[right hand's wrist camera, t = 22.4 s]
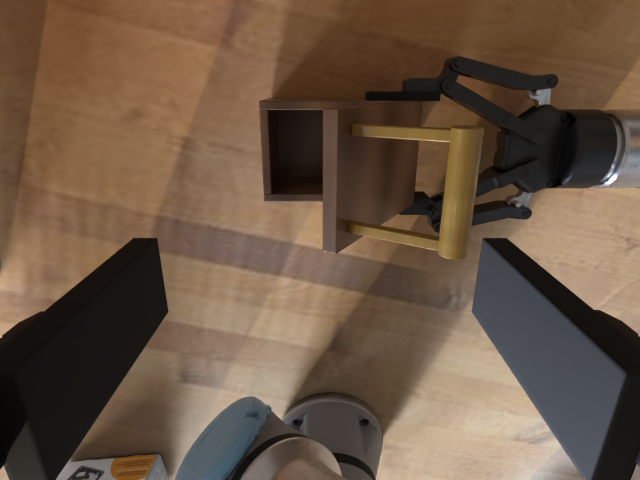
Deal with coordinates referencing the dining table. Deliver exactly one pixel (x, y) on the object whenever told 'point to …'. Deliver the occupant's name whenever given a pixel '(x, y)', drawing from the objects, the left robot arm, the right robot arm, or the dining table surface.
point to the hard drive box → (116, 469)
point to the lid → (393, 176)
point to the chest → (296, 145)
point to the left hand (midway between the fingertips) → (364, 149)
